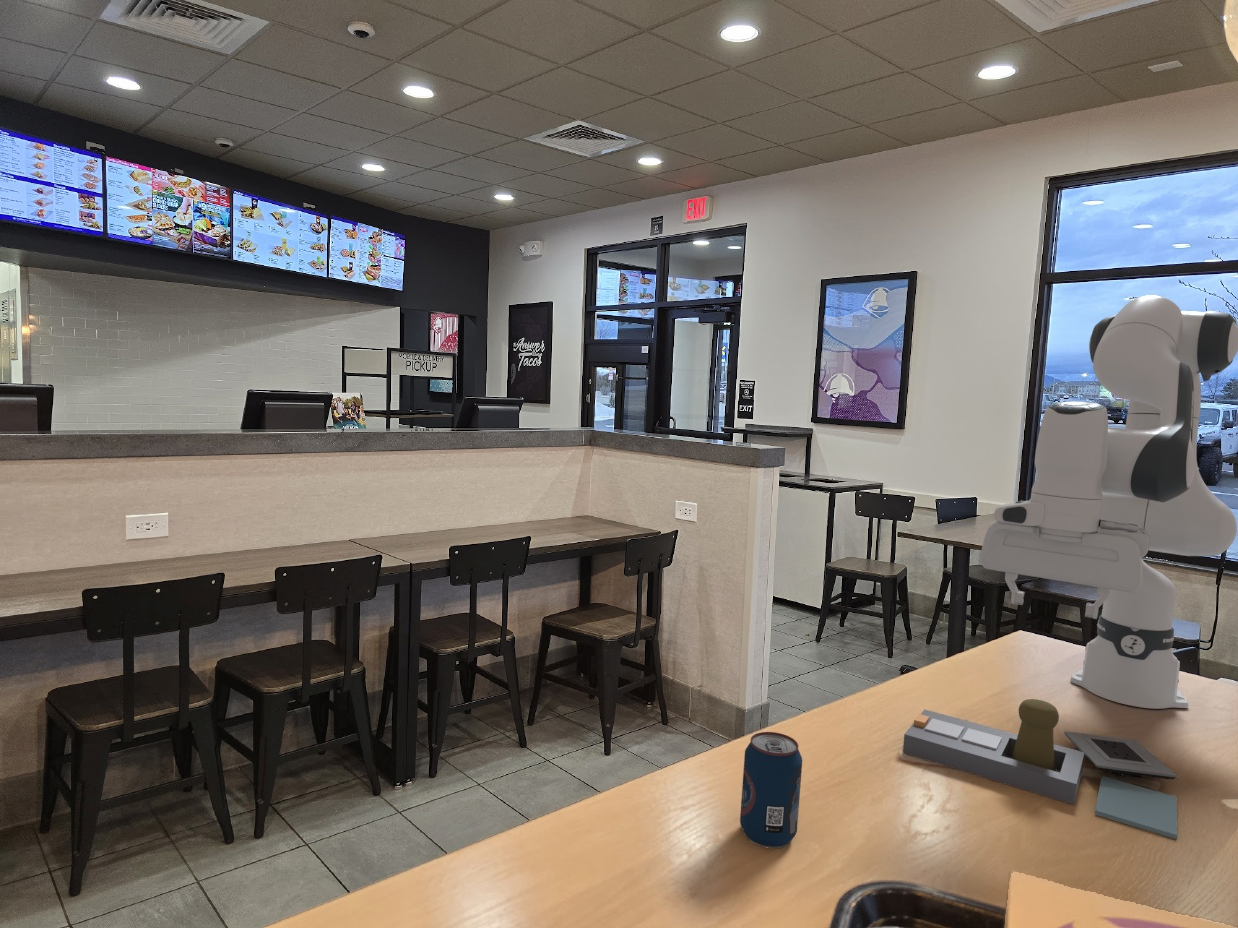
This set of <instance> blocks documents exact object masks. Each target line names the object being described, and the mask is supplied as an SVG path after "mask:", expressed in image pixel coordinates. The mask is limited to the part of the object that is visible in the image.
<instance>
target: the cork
mask: <svg viewBox="0 0 1238 928" xmlns="http://www.w3.org/2000/svg"><path fill="white" fill-rule="evenodd" d="M1018 716H1019V719H1020V721H1021V722H1020V727H1019V730H1018V733H1017V734H1018V737H1017V740H1016V744H1015V748H1014V751H1013V755H1012V757H1011V759H1014V760H1017V761H1021V762H1024V763H1028V764H1031V765H1035V766H1038V767H1042V768H1045V769H1049V770H1052V771H1056V770H1055V766H1054V744H1055V742H1054V741H1055V739H1054V728H1055V727H1056V726H1057V724H1058V723H1059V719H1060V715H1059V711H1058V708H1056V707H1055V705H1054V704H1053V703H1050V702H1048V701H1045V700H1041V699H1038V698H1028V699H1024V700H1023V701H1022V702H1021V703H1020V704H1019V707H1018Z"/></svg>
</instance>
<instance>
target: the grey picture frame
mask: <svg viewBox="0 0 1238 928" xmlns="http://www.w3.org/2000/svg"><path fill="white" fill-rule="evenodd" d="M1063 734H1064V736H1065V737H1067V739H1069V741H1070V742H1071V743H1072V744H1073V745H1074V746H1075V747H1076V748H1077V749H1078V751H1081V752H1085V753H1084V758H1086V759H1087V760H1088V761H1089V762H1090V764H1092V766H1094V768H1095V769H1096V770H1098V771H1101V772H1108V773H1110V774H1111V775H1115V776H1125V777H1131V778H1138V779H1142V777H1147V778H1155V779H1162V780H1174V779H1178V774H1177V773H1175V772H1174V771H1173V770H1172V769H1171V768H1169V767H1168V766H1167V765H1166V764H1165V763H1164V762H1163V761H1162V760H1161V759H1159V758H1158V757H1156V756H1155V754H1154V753H1152V752H1151V751H1150V750H1149V749H1148V748H1147V747H1145V746H1144V745H1143V744H1141V742H1140V741H1138V740H1137V739H1130V738H1123V737H1117V736H1116V737H1115V736H1106V735H1100V734H1099V735H1097V734H1091V733H1083V732H1074V731H1065V730H1064V731H1063Z"/></svg>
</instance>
